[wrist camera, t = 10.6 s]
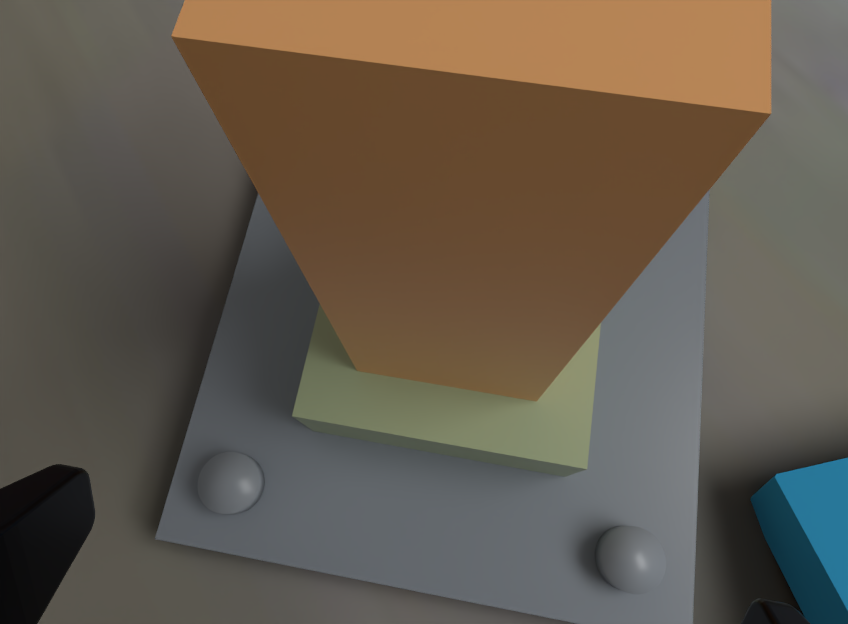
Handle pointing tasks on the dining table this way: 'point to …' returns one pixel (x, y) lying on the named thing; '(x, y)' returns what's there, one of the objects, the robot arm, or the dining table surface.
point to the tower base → (446, 501)
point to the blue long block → (810, 536)
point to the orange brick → (479, 159)
